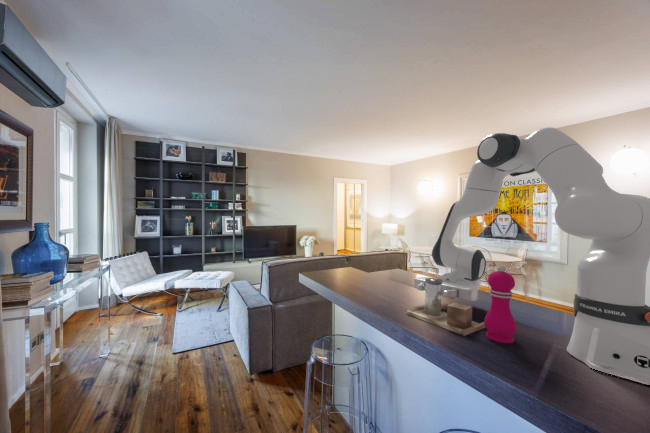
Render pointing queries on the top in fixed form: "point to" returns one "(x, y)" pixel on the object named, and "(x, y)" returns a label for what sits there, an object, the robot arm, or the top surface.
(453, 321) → the walnut block
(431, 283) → the canister
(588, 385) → the top surface
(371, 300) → the top surface
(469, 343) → the top surface
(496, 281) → the pepper mill
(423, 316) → the board
